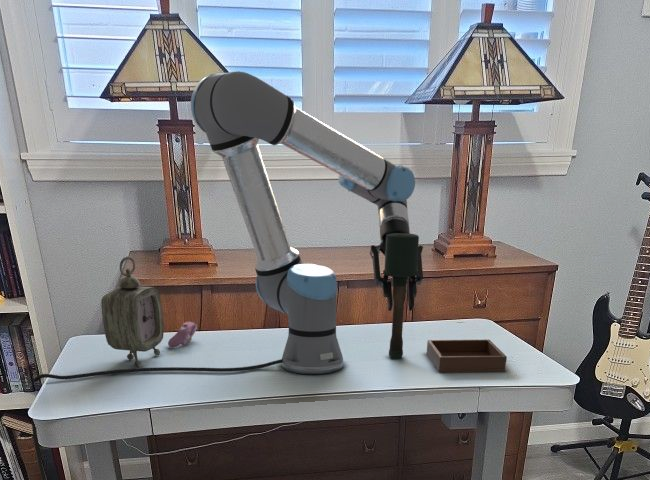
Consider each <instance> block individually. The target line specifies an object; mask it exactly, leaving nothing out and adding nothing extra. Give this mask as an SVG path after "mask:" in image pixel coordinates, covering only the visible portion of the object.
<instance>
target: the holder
mask: <svg viewBox="0 0 650 480" xmlns="http://www.w3.org/2000/svg"><path fill="white" fill-rule="evenodd" d="M426 356H427V357H428V358H429V360H430V362H431V363H432V365H433V366H434V367H435V369H436V371H437V372H438V373H498V372H499V373H501V372H503V373H505V372H506V366H507V355H506V354H505V353H504V352H503V351H502V350H501V349H500V348H499V347H498V346H497V345H496V344H494V342H492V340H491V339H427V344H426Z"/></svg>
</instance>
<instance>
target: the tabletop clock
mask: <svg viewBox="0 0 650 480" xmlns="http://www.w3.org/2000/svg"><path fill="white" fill-rule="evenodd" d="M128 260H130V261H131V262H132V269H131V270H130V269H129V268H127V269H125V272H124V271H123V265H124V262H126V261H128ZM135 270H136V263H135V260H134V258H133V257H131V256H123V258H122V259H121V260H120V263H119V273H120V274H121V275H122V276H124V277H122V278H121V279H120V280H119V283H118V286H117V287H116V288H114V289H113V290H111V291H109V292H107V293H106V294H104V295H103V296H102V298H101V301H100V302H101V303H100V307H101V316H102V324H103V330H104V336H105V341H106V343H107V345H108V346H110V347H111V348H112V349H113V350H119V351H129V353H128V354H127V355H126V358H127V360H129V361H133V360H135V361H134V362H133V365H134V367H135V368H141V366H142V363H141V361H140V360H139V359H138V352H142V353H143V352H144V353H145V352H148V351H151V350H153V354H154V355H155V356H159V355H160V354H161V350H160V348H156V347H157V346H158V345H160V344H161V342H162V341H163V339H164V330H165V329H164V326H165V325H164V313H163V306H162V299H161V294H160V291H159V288H158V287H155V286H143V285H142V284H141V282H140V280H139V279H138V278H137V277H135V276H132V275H133V274H134V272H135Z"/></svg>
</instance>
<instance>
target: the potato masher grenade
mask: <svg viewBox="0 0 650 480" xmlns="http://www.w3.org/2000/svg"><path fill="white" fill-rule="evenodd" d="M419 241H420V237H419V235H418V234H416V233H410V234H409V233H392V234H388V235H387V236H386V251H385V255H384V270H382V274H383V276H384V275H387V276H389V277H391V278H392V280H393V281H392V300H393V306H392V320H391V321H392V322H391V336H390V341H389V349H388V356H389V358H390V359H392V360H400V359H402V358H403V356H404V339H403V329H404V311H405V310H404V309H405V301H406V294H407V286H408V283H407V282H408V277H412V276H415V277H416V275H418V271H417V259H418V247H419Z"/></svg>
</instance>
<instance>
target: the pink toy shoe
mask: <svg viewBox="0 0 650 480" xmlns="http://www.w3.org/2000/svg"><path fill="white" fill-rule="evenodd" d="M197 329H198V324H196V323H195V322H191V321H190V320H189V321H186V322H183V323H182V324H181V327H179V330H177V332H176V333H175V334H174V335H173V336H171V338H169V339H168V341H167V345H168V347H169V348H172V349H173V348H177V347H179V346H180V345H182V346H184V347H185V346H186V344H187V343H190V342H191V341H192V337H193V336H194V335H195V334H196V332H197Z"/></svg>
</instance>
